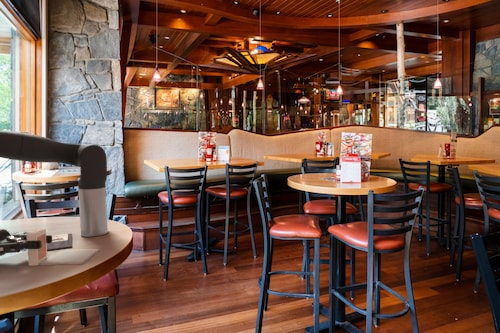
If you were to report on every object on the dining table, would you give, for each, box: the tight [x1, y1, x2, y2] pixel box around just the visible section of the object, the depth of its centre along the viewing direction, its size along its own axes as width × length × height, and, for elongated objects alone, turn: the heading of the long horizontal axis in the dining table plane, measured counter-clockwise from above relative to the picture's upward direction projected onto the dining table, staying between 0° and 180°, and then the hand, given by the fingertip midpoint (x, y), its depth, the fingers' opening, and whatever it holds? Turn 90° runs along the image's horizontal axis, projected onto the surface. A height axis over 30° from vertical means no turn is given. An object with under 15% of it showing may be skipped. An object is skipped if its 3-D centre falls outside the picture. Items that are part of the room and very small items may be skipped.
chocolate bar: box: [47, 233, 73, 252], centre depth 125 cm, size 9×1×18 cm
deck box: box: [26, 229, 48, 267], centre depth 105 cm, size 5×3×9 cm, turn 0°
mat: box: [39, 248, 100, 266], centre depth 109 cm, size 12×12×1 cm
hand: (46, 241), depth 104 cm, fingers closed on deck box, 5 cm apart
